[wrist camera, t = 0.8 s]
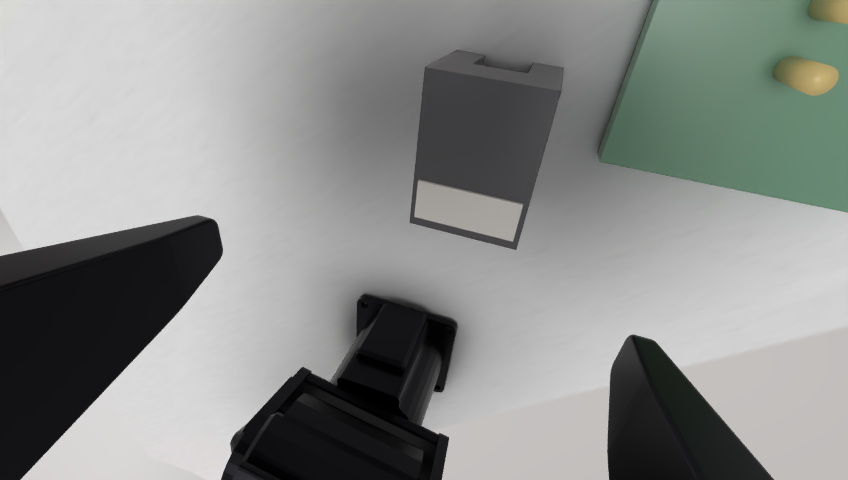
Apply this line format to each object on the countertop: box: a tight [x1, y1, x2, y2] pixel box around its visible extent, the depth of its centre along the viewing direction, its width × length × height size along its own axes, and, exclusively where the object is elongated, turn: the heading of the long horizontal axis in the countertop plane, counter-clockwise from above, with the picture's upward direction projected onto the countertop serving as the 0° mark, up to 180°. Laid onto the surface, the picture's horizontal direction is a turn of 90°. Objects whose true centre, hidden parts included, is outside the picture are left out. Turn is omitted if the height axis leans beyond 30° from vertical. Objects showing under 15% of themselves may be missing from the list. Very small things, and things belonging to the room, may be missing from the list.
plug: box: [410, 50, 564, 250], centre depth 16 cm, size 6×4×5 cm
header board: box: [598, 0, 848, 212], centre depth 12 cm, size 12×9×3 cm
